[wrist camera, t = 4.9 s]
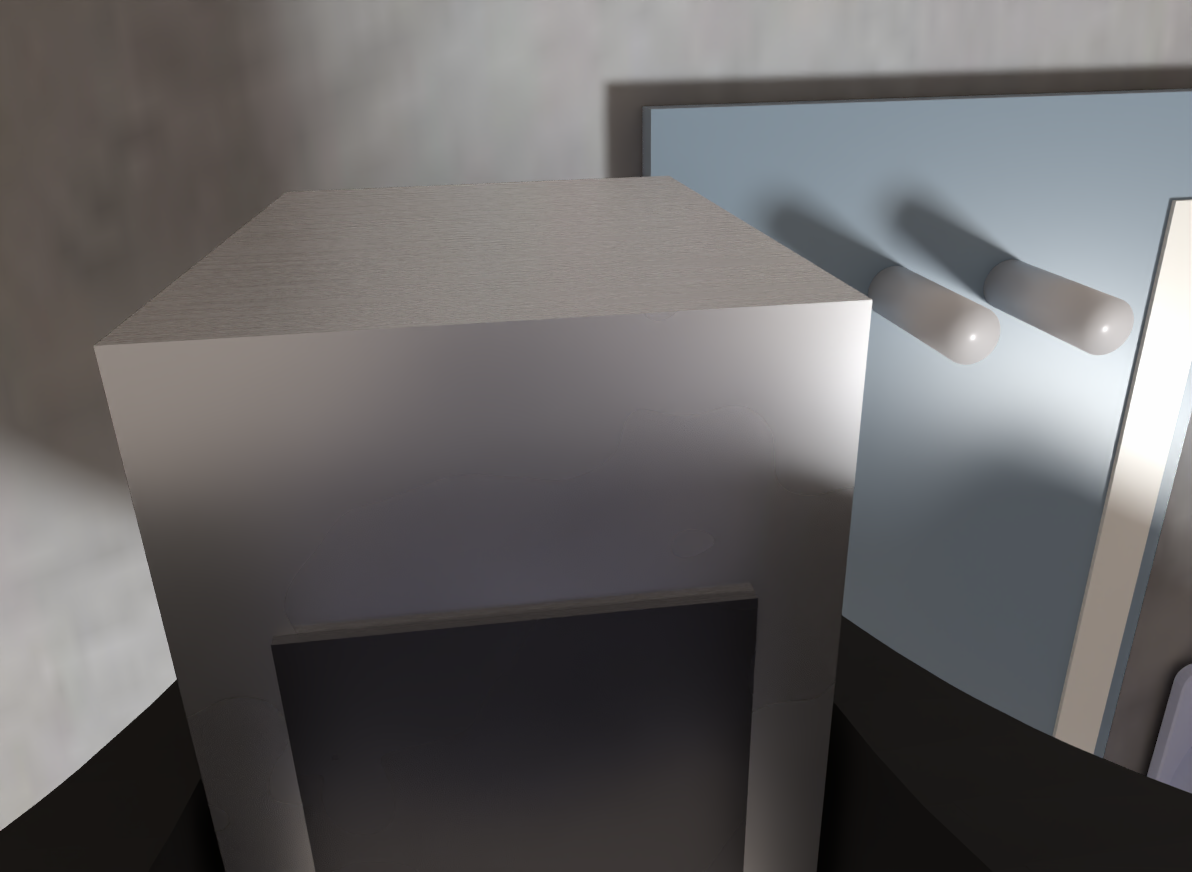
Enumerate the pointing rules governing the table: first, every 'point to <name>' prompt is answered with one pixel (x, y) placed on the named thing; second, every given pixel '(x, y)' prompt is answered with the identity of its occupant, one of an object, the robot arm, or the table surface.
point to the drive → (500, 527)
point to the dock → (990, 361)
